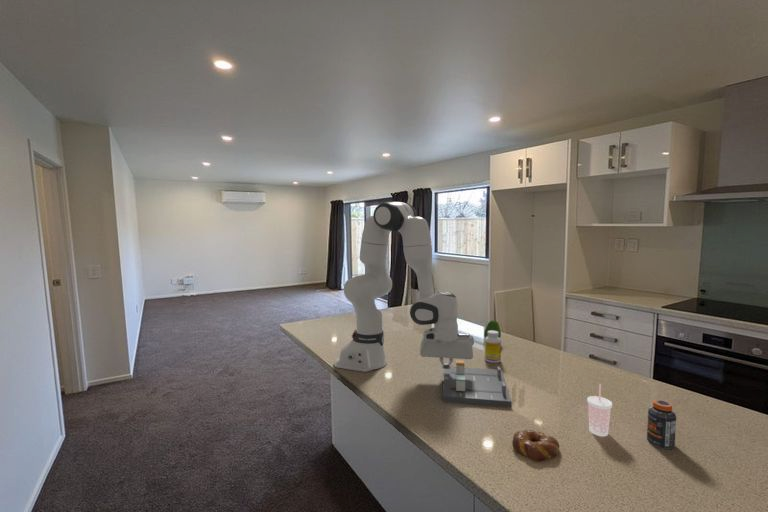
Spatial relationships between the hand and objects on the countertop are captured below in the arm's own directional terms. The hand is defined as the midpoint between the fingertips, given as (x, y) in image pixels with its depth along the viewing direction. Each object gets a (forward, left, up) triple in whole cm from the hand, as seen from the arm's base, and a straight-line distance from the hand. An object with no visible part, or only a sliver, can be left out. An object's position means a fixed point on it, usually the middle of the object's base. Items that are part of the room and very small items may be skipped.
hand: (446, 368), depth 139 cm
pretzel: (+24, -41, -4) cm, 48 cm away
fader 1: (+5, 0, -1) cm, 5 cm away
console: (+10, -7, -4) cm, 13 cm away
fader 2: (+5, -14, -1) cm, 15 cm away
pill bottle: (+57, -33, -4) cm, 66 cm away
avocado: (+21, +44, -4) cm, 49 cm away
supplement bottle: (+19, +21, -4) cm, 29 cm away
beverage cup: (+43, -30, -4) cm, 53 cm away
